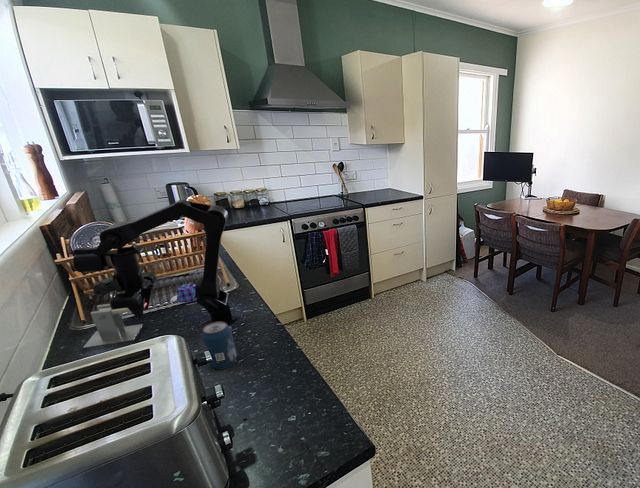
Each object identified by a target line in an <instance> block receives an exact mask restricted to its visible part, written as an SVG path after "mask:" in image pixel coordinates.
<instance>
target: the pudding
mask: <svg viewBox="0 0 640 488" xmlns="http://www.w3.org/2000/svg"><path fill="white" fill-rule="evenodd" d="M195 286H196V283H185V284H182V285H180V286H179V287H178V288H177V289H176V295H174V296H172V297H171V299H170V303H171V304H172V305H175V306H176V303H173V302H172V301H178V302H179V303H187V306H188V305H190V303H191V302H193V303H191V305H192V304H193V305H194V302H195V301H196V302H195V304H198V303H197V300H196V298H194V296H195V294H196V291H195ZM188 303H189V304H188Z"/></svg>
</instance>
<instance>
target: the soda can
mask: <svg viewBox="0 0 640 488" xmlns="http://www.w3.org/2000/svg"><path fill="white" fill-rule="evenodd" d="M201 340H202V343H203V346H204V349H205V352H206V351H209V352H210V353H211V355H212V357H213V361H212V362H211V363H210V364H209V365H210V367H212V368H214V369H217V370H223V369H227V368H229V367H231V366H232V365H234V363H235V362H236V360H237V358H238V353H237V349H236V345H235V341H234V336H233V333H232V329H231V327H230V326H229V324H228V325H227V323H226V322H223V321H217V322H212V321H211V322H210V323H208V324H206V325H204V326H203V328H202V332H201Z"/></svg>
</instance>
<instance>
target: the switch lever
mask: <svg viewBox="0 0 640 488" xmlns="http://www.w3.org/2000/svg"><path fill="white" fill-rule="evenodd" d="M146 306H147V302H145V303H144V309H145V307H146ZM110 309H111V307H110V308H103V309H99V311H103V310H110ZM111 311H112V314H113V315H114V314H118V313H120V314H124V313H130V312H131V311H130V310H129V309H128V308H121V309H116V310H112V309H111ZM131 313H132V312H131Z"/></svg>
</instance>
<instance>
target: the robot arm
mask: <svg viewBox="0 0 640 488" xmlns="http://www.w3.org/2000/svg"><path fill="white" fill-rule="evenodd" d="M181 217H184V218H187V219H189V220H191V221H194V222H196V223H199V224H202V225H203V230H204V233H205V239H206V240H205V249H204V252H205V253H204V262H203V273H202V278H198V279H197V280H196V283H195V285H196V286H195V291H196V294H195V296H194V298H196V300H195V301H196V302H197V303H196V304H198V305H199V306H201V307H203V308H204V309H205V310H206V312H207V313H208V314H209V316H210V320H211V323H212V322H217V321H223V322H226V323H227V325H228V326H229V324H231V323H233V322H235V321H236V320H237V319H238V318H237V317H236V316H233V315H232V312H231V306H230V305H229V302H228V298H229V296H230V295H229V293H228V292H227V291H225V290H223V289H221V286H220V280H219V277H218V273H219V262H220V255H221V243H222V236H223V233H224V231H225V227H226V225H227V221H228V218H229V213H228V211H227V209H225V207H223V206H222V205H216V204H215V205H209V204H206V203H199V202H195V201H190V200H186V199H179V200H177V201H175V202H174V203H172V204H169V205H167V206H164V207H162V208H159V209H157V210H155V211H153V212H150V213H148V214H145V215H143V216H141V217H138V218H136V219H130V220H125V221H120V222H116V223H113V224H110V225H109V226H108V227H107V228H105V229H104V230H102V231H101V232H100V233H99V241H100V242H99V244H98V245H97V246H95V247H94V246H93V247H76V248H75V249H73V250H72V252H73V264H72V265H73V267H74V269H75V271H76V272H78V273H90V272H91V273H92V272H101V271H102V272H103V271H108V269H109V267H111V266H112V267H113V270H114V272H115V273H113V275H112V276H110V277H107V278H104V279H102V280H99V281H98V282H97V283H94V285H92V291H93V294H94V295H97V296H100V297H104V296H106V295H107V294H110V293H112V292H115V291H116V293H117V294H115V295H114V296H113V298H112V299H111V300H110V301H109V302H108V304H110V306H111V309H122V308H128V309H129V310H130V311H131V313H132V314H133V316H134V317H136V319H138V320H141V319H143V316H144V311H148V309H149V307H150V303H151V298H152V293H153V290H154V287H155V285H154V284H155V283H156V281H158V280H157V275H156V273H153V272H151V271H149V272H144V271H145V268H144V266H141V265H140V261H139V259H138V256H137V255H139V254H140V253H142V252H143V251H144V249H145V248H144V247H143V246H140V245H138V244H137V243H133V244H132V245H131V246H127V245H128V244H130V243H131V242H132V241H134V240H135V239H137V238H138V237H140V236H141V235H142V234H144V233H147V232H148V231H149V232H150V231H151V230H153V229H156V228H158V227H161V226H162V225H165V224H167V223H169V222H172V221H174V220H176V219H179V218H181ZM149 282H150V283H151V284H149ZM121 292H124V293H121ZM145 302H147V306H146V307H145V309H144V303H145Z"/></svg>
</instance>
